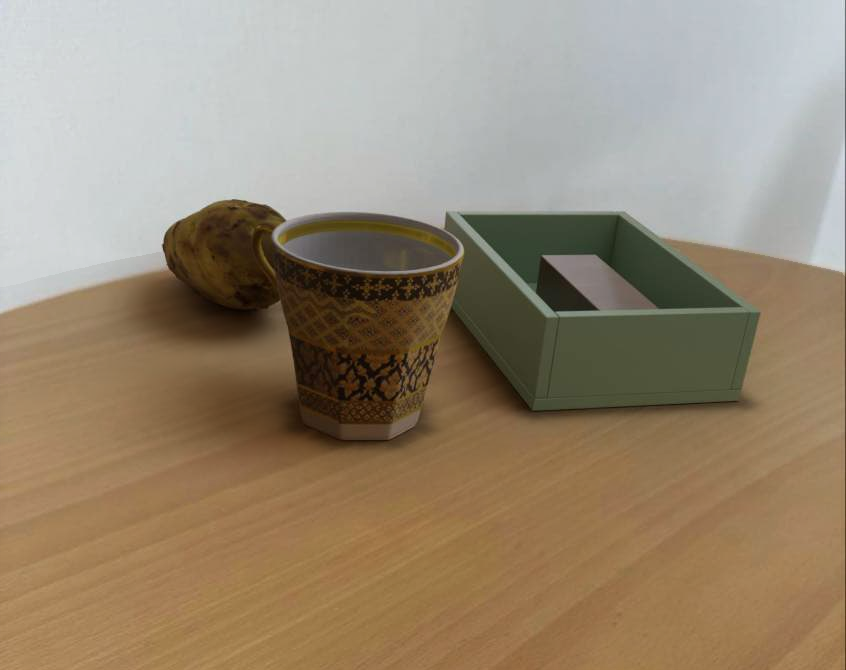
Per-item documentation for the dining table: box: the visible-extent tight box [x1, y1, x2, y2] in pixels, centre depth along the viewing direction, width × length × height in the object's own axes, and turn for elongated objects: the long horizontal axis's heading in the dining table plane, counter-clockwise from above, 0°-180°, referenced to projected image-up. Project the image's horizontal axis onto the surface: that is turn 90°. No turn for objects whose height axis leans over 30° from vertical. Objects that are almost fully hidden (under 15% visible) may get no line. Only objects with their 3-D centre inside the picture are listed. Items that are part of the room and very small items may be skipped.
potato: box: [161, 198, 287, 311], centre depth 74 cm, size 8×13×8 cm, turn 13°
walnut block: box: [536, 255, 659, 313], centre depth 73 cm, size 4×4×12 cm
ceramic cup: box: [251, 211, 464, 441], centre depth 63 cm, size 13×10×10 cm
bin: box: [443, 210, 762, 412], centre depth 75 cm, size 14×20×6 cm
